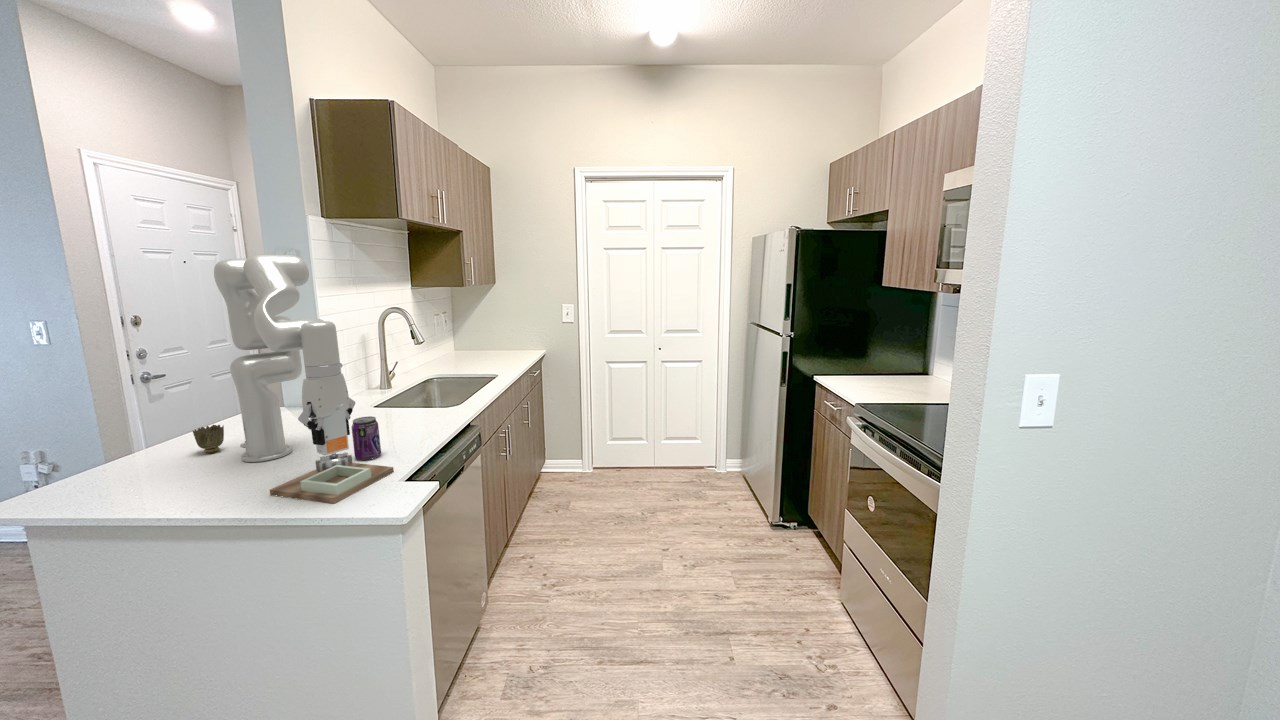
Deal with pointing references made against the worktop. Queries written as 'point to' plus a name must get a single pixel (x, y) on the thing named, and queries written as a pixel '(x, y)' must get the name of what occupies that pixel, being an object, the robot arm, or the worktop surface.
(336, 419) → the skincare box
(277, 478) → the worktop surface
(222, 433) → the cup
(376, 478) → the carrier plate
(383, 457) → the worktop surface
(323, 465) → the sun gear
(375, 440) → the beverage can
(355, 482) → the green square frame
